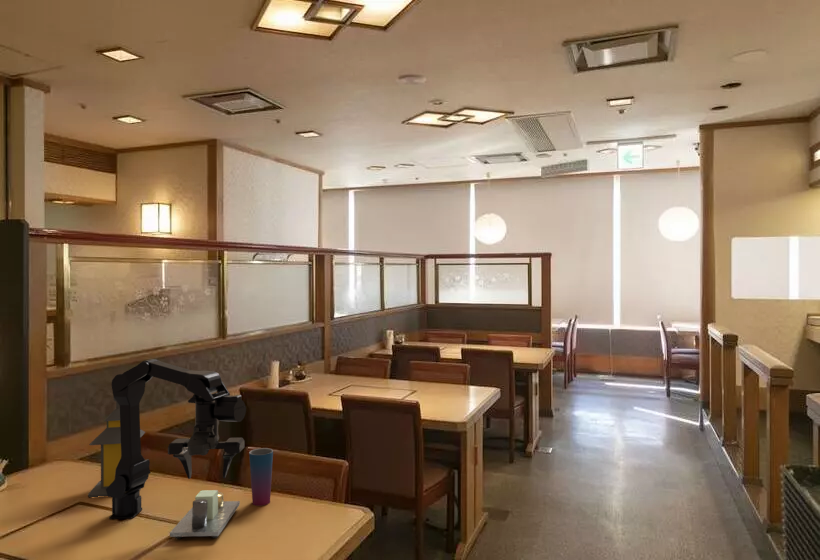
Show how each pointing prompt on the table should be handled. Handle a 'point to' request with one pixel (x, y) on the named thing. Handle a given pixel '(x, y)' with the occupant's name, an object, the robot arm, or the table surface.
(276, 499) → the table surface
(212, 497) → the green block
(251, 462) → the cup
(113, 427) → the lantern
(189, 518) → the grey flat plate
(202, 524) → the black peg
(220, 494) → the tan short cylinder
